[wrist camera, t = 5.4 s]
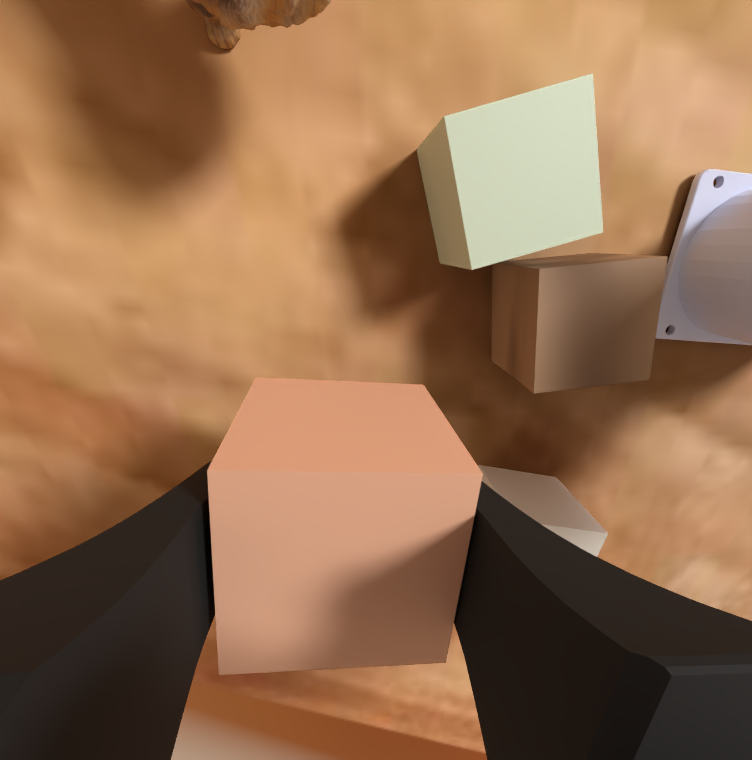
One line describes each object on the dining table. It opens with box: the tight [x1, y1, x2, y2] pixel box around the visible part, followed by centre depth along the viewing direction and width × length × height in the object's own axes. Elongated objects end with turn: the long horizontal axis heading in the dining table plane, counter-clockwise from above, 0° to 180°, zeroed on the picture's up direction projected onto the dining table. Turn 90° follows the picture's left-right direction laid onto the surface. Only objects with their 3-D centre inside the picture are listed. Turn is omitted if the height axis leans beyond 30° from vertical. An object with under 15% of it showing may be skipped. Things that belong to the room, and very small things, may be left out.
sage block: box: [416, 74, 603, 270], centre depth 16 cm, size 5×5×5 cm
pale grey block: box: [478, 465, 608, 557], centre depth 22 cm, size 5×5×5 cm
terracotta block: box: [207, 377, 483, 675], centre depth 10 cm, size 5×5×5 cm
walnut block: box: [491, 253, 668, 394], centre depth 18 cm, size 5×5×5 cm
